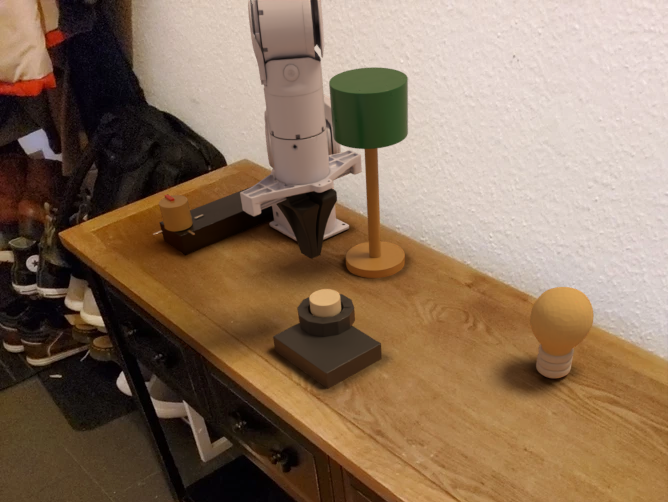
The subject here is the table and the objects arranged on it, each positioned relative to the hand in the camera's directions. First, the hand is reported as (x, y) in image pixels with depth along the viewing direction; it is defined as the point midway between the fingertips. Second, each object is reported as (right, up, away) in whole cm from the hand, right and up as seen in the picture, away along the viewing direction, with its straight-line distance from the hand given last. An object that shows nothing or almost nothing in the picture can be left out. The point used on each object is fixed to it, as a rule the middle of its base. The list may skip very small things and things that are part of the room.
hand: (310, 254), depth 84 cm
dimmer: (-16, +11, +26) cm, 33 cm away
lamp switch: (+2, -6, +3) cm, 7 cm away
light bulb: (+27, -14, -1) cm, 30 cm away
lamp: (+8, +4, +17) cm, 19 cm away
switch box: (+2, -10, +3) cm, 11 cm away
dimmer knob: (-20, +11, +22) cm, 31 cm away
